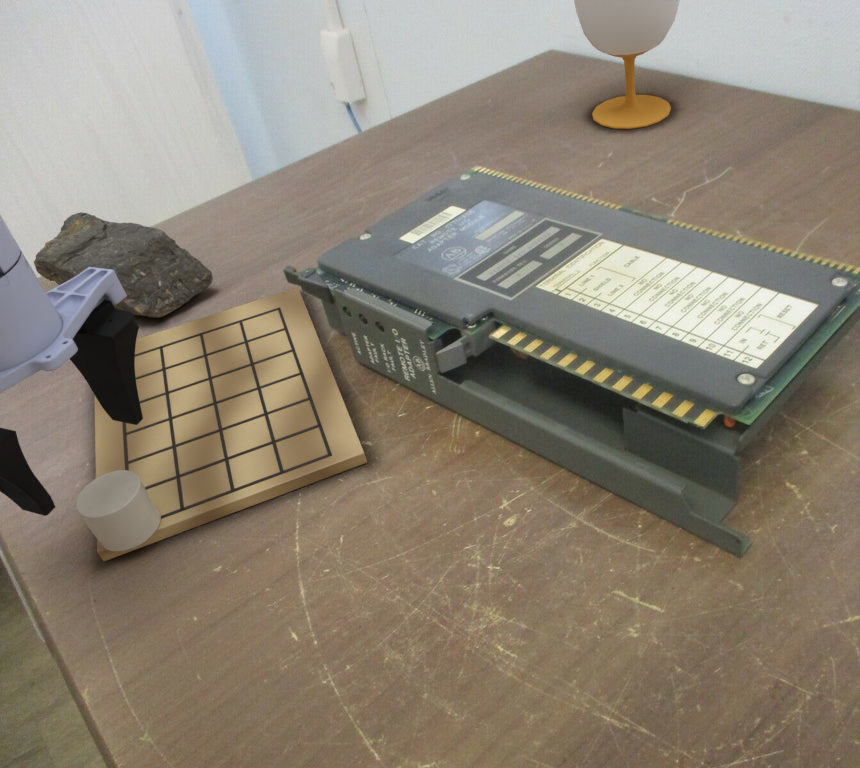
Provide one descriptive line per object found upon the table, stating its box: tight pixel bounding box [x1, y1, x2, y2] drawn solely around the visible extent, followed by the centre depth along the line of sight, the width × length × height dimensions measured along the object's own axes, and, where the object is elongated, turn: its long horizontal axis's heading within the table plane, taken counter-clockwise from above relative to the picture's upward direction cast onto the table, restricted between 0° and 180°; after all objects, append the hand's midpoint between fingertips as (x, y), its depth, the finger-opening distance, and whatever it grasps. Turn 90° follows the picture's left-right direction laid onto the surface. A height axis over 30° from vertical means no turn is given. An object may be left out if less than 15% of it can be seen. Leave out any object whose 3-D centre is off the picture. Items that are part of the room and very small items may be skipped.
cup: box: [573, 0, 680, 130], centre depth 91 cm, size 12×12×17 cm
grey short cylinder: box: [75, 470, 161, 551], centre depth 54 cm, size 4×4×3 cm
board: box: [93, 286, 368, 562], centre depth 65 cm, size 18×24×1 cm
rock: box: [33, 211, 214, 318], centre depth 78 cm, size 17×7×10 cm
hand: (85, 461), depth 51 cm, fingers open, 7 cm apart
